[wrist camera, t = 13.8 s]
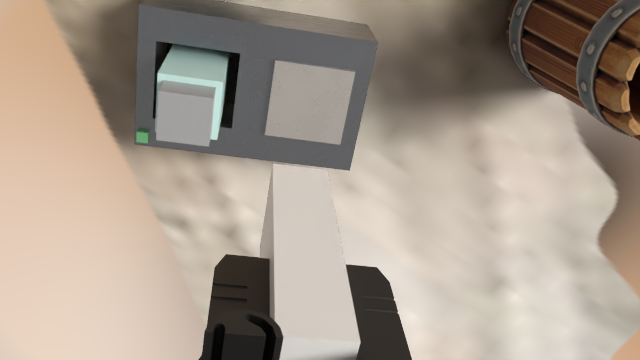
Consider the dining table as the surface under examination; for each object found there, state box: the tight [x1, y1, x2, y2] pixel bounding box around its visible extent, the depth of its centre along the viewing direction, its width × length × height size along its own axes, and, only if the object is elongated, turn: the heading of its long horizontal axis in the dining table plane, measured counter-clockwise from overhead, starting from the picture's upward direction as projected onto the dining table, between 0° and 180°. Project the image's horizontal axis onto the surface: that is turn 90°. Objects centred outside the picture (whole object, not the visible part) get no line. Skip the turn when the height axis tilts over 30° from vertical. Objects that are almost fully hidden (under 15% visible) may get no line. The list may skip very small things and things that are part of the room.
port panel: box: [134, 0, 378, 170], centre depth 43 cm, size 10×16×5 cm, turn 80°
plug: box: [155, 44, 230, 147], centre depth 40 cm, size 4×4×11 cm
